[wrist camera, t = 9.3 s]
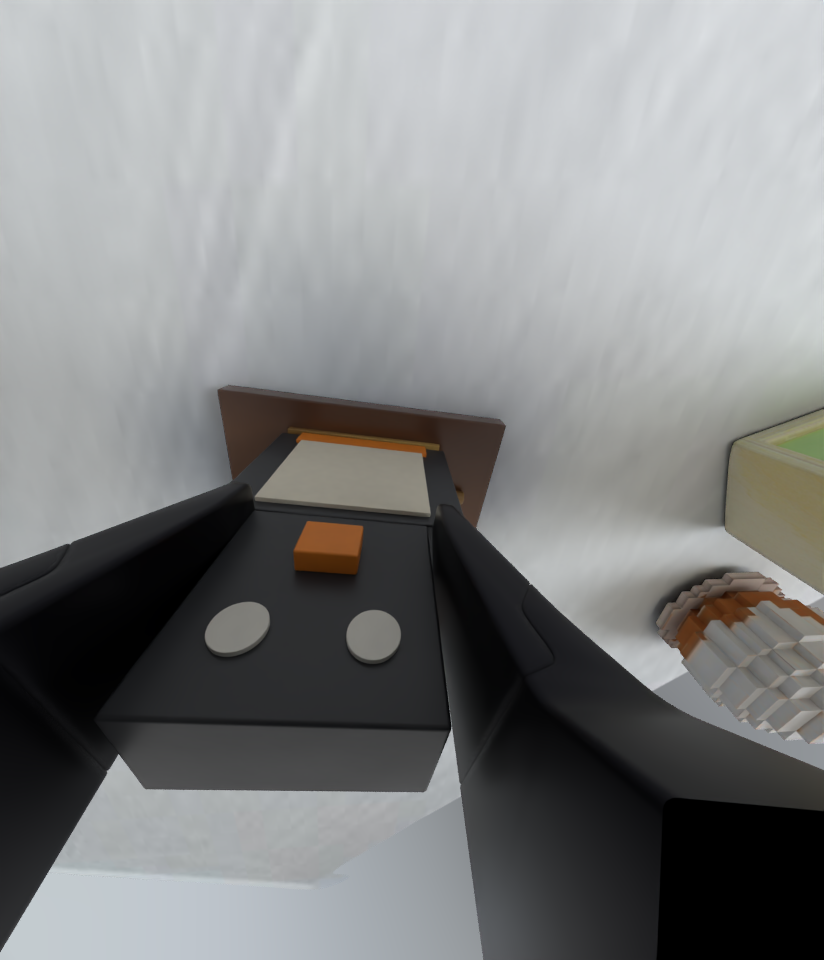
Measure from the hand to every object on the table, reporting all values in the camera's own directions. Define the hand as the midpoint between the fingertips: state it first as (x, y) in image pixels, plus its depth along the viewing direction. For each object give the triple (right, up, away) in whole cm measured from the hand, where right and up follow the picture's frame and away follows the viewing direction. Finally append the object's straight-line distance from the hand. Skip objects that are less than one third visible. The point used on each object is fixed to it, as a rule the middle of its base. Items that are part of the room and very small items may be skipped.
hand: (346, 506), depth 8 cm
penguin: (0, -2, +2) cm, 3 cm away
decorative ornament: (+24, -8, +14) cm, 29 cm away
